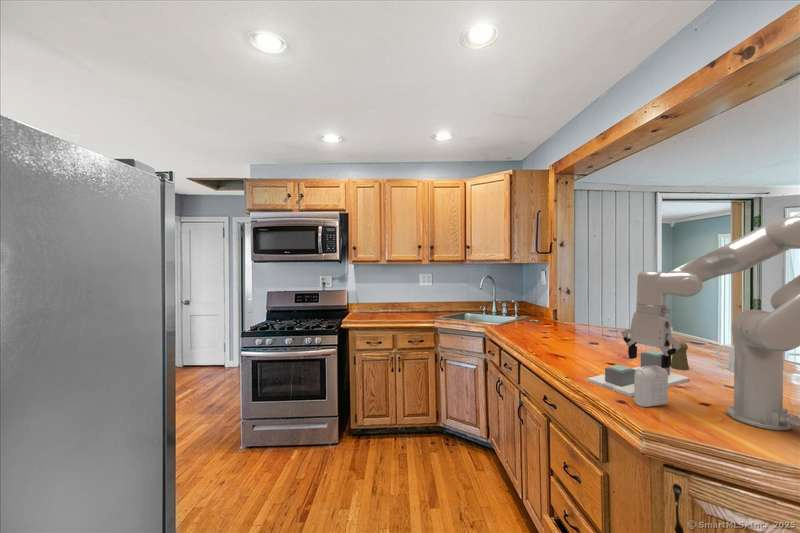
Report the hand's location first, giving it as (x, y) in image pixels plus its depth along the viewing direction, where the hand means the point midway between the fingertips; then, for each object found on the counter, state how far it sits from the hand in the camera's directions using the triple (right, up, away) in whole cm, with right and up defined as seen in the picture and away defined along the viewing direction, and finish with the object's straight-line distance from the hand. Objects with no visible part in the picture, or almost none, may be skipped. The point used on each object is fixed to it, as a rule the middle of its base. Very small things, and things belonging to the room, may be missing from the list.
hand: (648, 362), depth 106 cm
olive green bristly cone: (+39, -12, +34) cm, 53 cm away
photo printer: (+1, -13, 0) cm, 13 cm away
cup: (+58, -12, +29) cm, 66 cm away
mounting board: (+11, -13, +20) cm, 26 cm away
